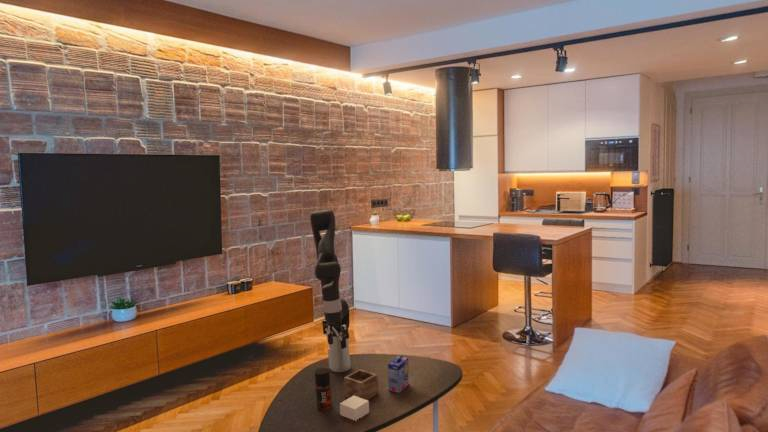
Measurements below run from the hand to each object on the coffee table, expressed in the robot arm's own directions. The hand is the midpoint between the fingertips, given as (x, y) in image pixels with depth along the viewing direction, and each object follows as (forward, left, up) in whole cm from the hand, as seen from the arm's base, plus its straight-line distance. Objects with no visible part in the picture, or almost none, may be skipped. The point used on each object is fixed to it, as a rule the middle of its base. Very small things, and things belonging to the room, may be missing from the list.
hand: (337, 346), depth 223 cm
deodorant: (+3, -12, -21) cm, 24 cm away
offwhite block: (+17, -10, -21) cm, 29 cm away
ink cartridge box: (+18, +18, -21) cm, 33 cm away
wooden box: (+9, +4, -21) cm, 23 cm away
